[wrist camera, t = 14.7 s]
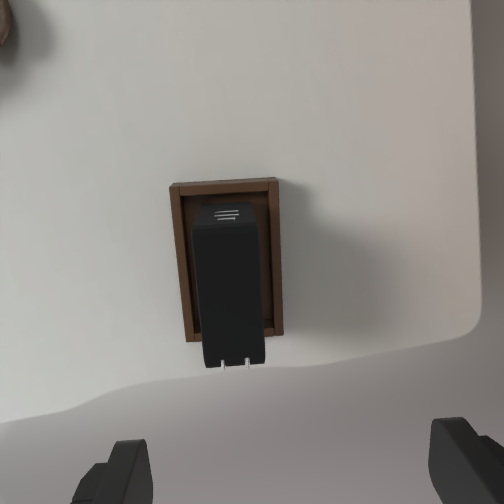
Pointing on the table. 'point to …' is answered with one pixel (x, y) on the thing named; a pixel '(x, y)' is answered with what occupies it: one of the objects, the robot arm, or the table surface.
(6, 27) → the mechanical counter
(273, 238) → the tray
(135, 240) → the table surface
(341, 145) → the table surface
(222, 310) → the electronic device
